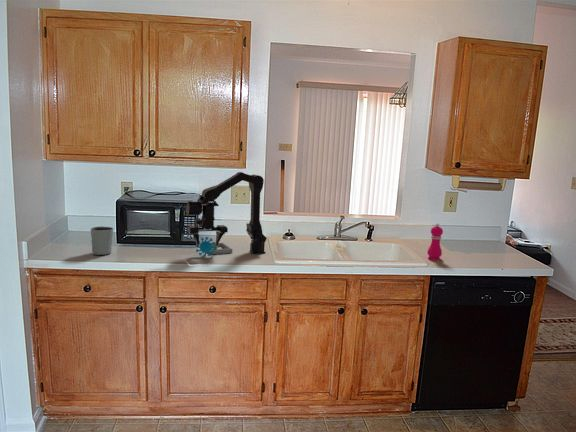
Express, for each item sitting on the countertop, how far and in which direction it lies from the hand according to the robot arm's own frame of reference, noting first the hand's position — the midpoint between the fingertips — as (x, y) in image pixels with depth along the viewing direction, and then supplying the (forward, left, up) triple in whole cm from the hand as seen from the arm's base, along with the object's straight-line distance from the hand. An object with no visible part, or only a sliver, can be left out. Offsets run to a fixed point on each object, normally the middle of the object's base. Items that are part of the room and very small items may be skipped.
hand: (207, 246), depth 235 cm
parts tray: (-9, -10, -5) cm, 14 cm away
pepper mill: (-111, +38, -5) cm, 117 cm away
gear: (0, 0, -6) cm, 6 cm away
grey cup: (+46, -20, -5) cm, 51 cm away
